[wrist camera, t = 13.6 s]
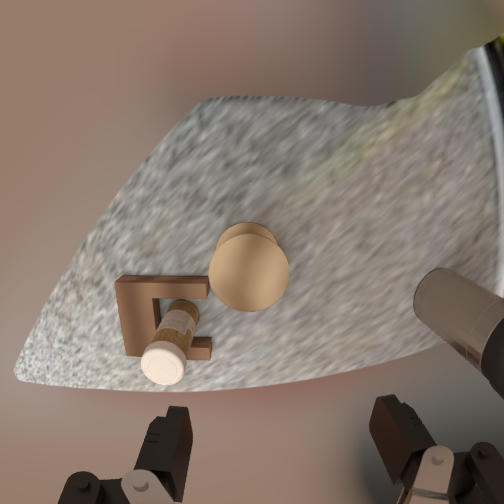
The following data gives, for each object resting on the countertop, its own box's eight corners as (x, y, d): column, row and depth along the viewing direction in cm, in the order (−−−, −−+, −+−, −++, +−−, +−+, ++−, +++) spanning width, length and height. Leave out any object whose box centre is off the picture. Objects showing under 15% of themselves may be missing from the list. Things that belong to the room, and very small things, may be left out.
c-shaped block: (208, 276, 40) (205, 283, 37) (211, 349, 42) (210, 360, 39) (122, 275, 39) (114, 282, 36) (132, 345, 42) (126, 355, 39)
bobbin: (279, 222, 38) (290, 234, 30) (277, 283, 40) (287, 311, 31) (214, 222, 38) (207, 234, 29) (216, 283, 40) (210, 311, 31)
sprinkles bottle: (193, 333, 41) (177, 392, 28) (163, 321, 41) (135, 377, 28) (203, 305, 40) (189, 360, 27) (172, 293, 40) (144, 343, 27)
